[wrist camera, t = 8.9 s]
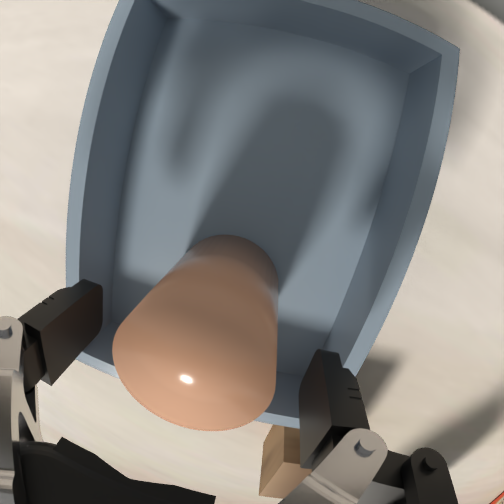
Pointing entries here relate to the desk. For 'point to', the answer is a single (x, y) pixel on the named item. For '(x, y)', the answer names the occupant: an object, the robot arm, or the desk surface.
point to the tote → (261, 161)
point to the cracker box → (499, 499)
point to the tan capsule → (205, 338)
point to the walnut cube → (281, 462)
